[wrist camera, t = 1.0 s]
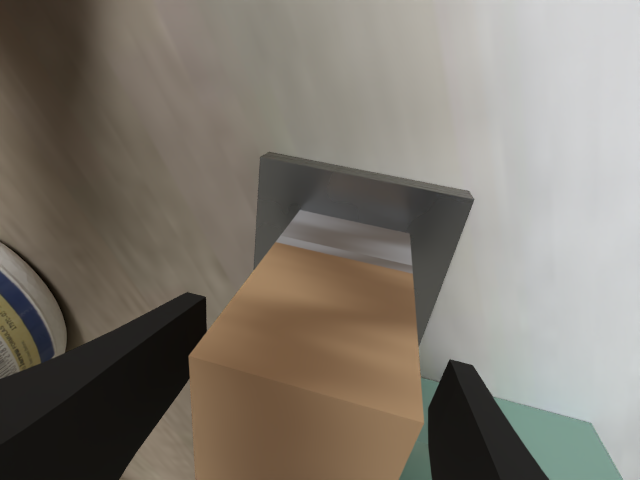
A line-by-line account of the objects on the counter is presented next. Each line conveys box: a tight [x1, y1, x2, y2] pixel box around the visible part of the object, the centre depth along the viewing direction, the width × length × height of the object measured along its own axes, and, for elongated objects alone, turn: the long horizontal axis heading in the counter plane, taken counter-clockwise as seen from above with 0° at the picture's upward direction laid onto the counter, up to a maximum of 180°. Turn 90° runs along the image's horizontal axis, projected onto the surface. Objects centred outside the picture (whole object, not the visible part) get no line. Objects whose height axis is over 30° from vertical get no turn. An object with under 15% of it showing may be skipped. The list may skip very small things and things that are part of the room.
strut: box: [189, 210, 424, 480], centre depth 10 cm, size 4×4×8 cm
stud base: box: [254, 152, 474, 347], centre depth 13 cm, size 8×8×3 cm
